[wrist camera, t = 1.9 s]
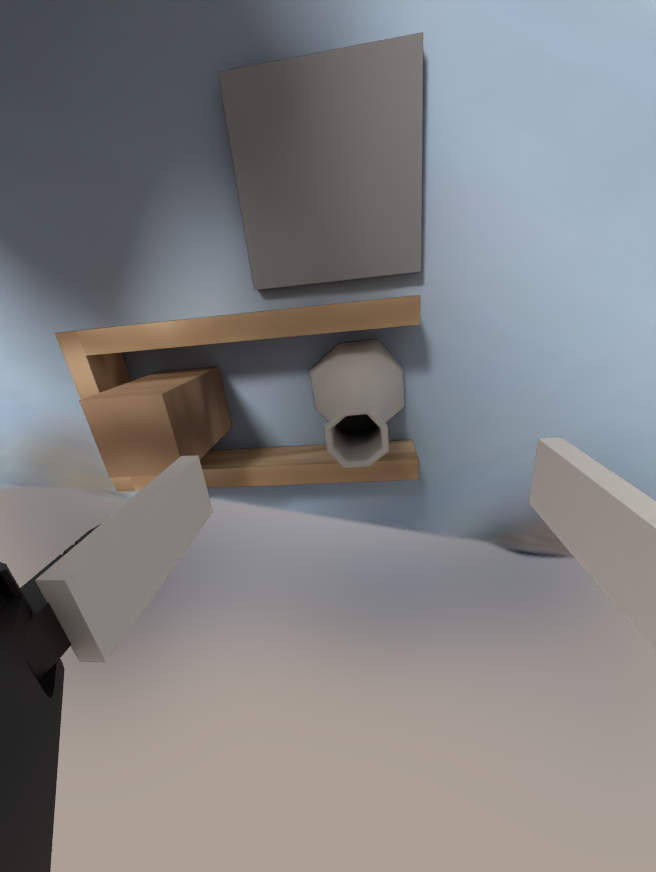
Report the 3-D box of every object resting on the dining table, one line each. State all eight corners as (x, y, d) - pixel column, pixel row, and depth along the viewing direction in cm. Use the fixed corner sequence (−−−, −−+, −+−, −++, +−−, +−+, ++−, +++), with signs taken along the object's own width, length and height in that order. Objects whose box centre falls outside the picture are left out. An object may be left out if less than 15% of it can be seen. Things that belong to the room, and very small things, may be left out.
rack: (93, 328, 25) (54, 333, 22) (411, 295, 22) (420, 295, 19) (143, 470, 30) (116, 491, 26) (411, 457, 27) (418, 479, 24)
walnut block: (158, 371, 26) (79, 400, 19) (219, 366, 25) (161, 394, 18) (175, 430, 28) (109, 477, 20) (232, 426, 27) (185, 474, 20)
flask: (419, 411, 25) (454, 474, 16) (334, 445, 27) (322, 520, 18) (384, 321, 23) (401, 335, 14) (294, 364, 25) (255, 402, 16)
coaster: (223, 80, 19) (217, 72, 18) (420, 43, 18) (423, 32, 17) (257, 290, 23) (254, 289, 22) (419, 272, 22) (421, 271, 21)
